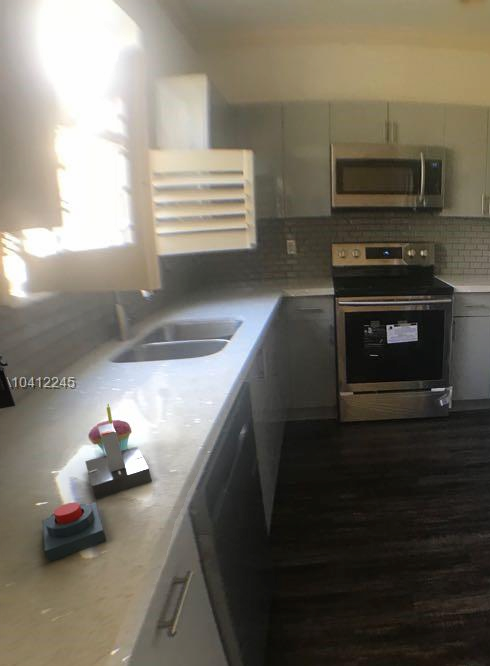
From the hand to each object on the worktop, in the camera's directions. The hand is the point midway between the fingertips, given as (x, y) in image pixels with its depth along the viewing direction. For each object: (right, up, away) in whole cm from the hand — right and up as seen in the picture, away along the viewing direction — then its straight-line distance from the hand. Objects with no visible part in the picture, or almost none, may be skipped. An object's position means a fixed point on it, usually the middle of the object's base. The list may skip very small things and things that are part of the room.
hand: (5, 406), depth 78 cm
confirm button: (+12, -19, -1) cm, 22 cm away
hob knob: (+10, -13, +16) cm, 23 cm away
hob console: (+10, -16, +17) cm, 25 cm away
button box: (+12, -22, 0) cm, 25 cm away
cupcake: (+2, -12, +28) cm, 31 cm away
